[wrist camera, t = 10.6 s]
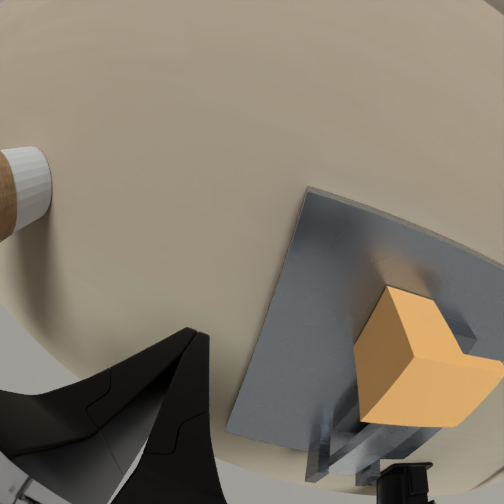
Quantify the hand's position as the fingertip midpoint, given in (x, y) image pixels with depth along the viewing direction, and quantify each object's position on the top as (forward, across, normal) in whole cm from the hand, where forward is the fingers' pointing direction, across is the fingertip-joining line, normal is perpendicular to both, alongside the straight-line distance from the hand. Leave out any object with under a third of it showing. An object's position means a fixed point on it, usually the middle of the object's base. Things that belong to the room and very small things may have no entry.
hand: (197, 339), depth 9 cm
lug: (+5, -10, 0) cm, 11 cm away
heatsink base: (+6, -11, +5) cm, 14 cm away
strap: (+3, -12, +7) cm, 15 cm away
